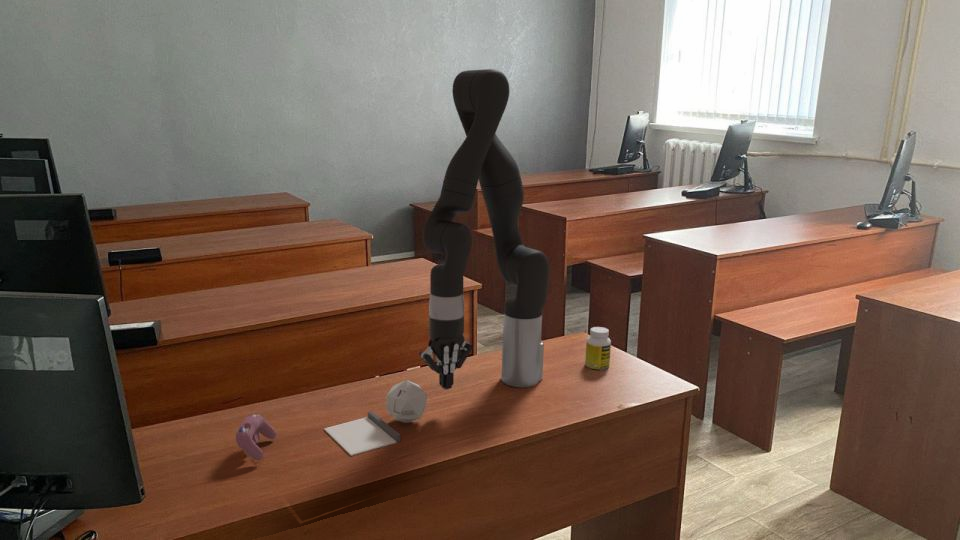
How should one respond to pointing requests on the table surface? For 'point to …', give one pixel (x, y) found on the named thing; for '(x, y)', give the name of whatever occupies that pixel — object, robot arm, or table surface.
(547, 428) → the table surface
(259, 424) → the video game controller
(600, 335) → the pill bottle
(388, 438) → the white l-shaped plate
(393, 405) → the die
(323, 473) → the table surface
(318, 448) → the table surface
